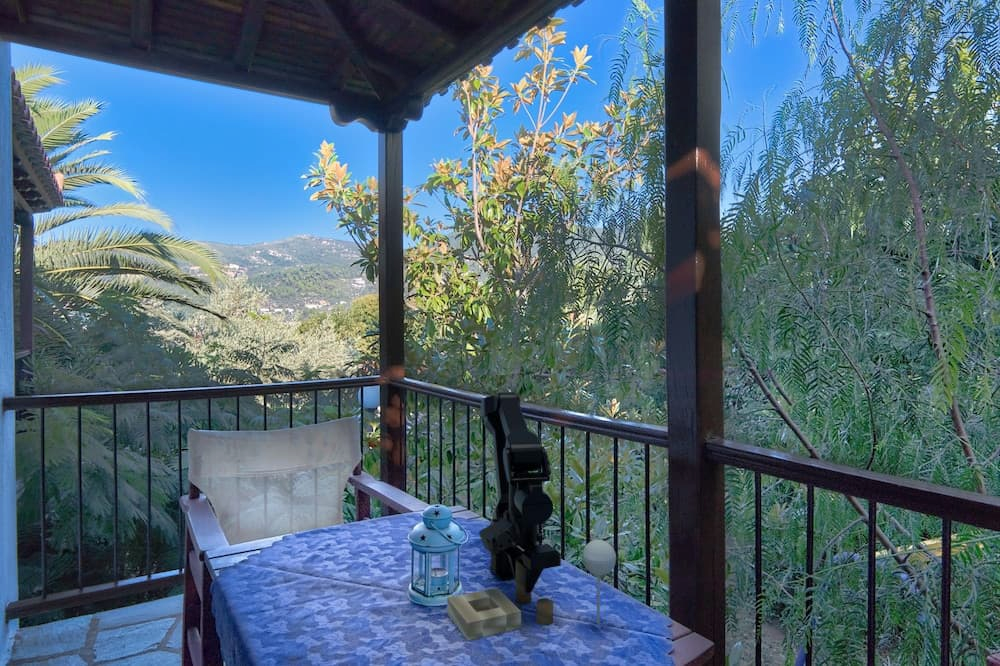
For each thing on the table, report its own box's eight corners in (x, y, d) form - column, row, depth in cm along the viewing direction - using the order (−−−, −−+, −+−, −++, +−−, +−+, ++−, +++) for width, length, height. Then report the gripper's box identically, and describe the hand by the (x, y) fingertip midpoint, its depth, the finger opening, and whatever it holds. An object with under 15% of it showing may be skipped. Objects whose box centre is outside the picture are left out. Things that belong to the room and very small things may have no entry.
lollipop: (607, 637, 104) (608, 550, 103) (575, 627, 107) (576, 543, 107) (620, 622, 109) (621, 538, 109) (589, 613, 112) (590, 532, 112)
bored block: (497, 603, 116) (497, 587, 116) (520, 628, 107) (521, 611, 107) (447, 613, 112) (447, 597, 112) (467, 640, 103) (467, 623, 102)
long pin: (526, 596, 119) (526, 555, 119) (533, 602, 116) (534, 561, 116) (512, 598, 118) (513, 557, 117) (519, 605, 115) (520, 563, 115)
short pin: (548, 615, 111) (548, 596, 111) (556, 623, 109) (556, 604, 108) (533, 619, 110) (533, 600, 110) (541, 627, 107) (541, 607, 107)
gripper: (466, 498, 122) (466, 575, 122) (506, 528, 105) (505, 618, 105) (516, 491, 126) (516, 566, 127) (563, 519, 109) (562, 606, 110)
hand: (523, 587), depth 117 cm, fingers open, 4 cm apart
